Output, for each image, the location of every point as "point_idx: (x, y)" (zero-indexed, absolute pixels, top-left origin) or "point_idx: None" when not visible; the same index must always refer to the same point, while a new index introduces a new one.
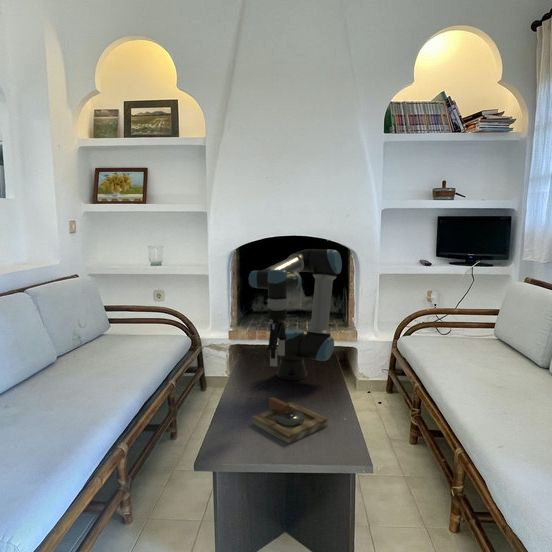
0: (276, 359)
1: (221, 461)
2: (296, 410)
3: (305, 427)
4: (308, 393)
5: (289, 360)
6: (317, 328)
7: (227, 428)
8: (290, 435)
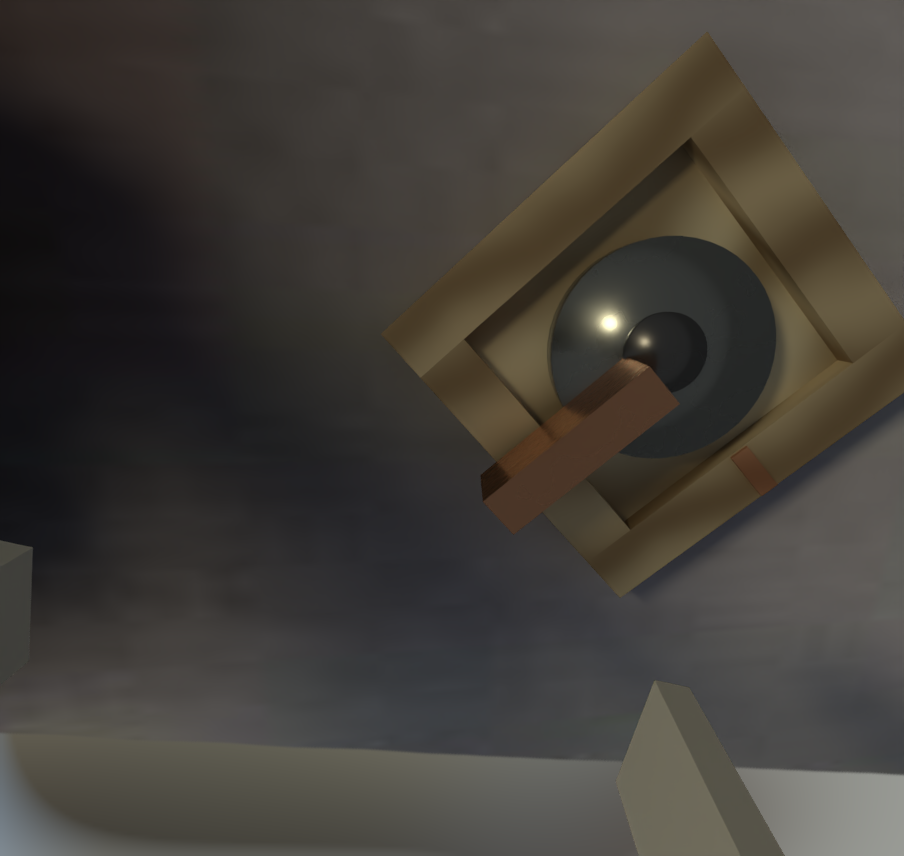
0: (761, 817)
1: None
2: (574, 297)
3: (832, 239)
4: (82, 170)
5: None
6: None
7: None
8: None
